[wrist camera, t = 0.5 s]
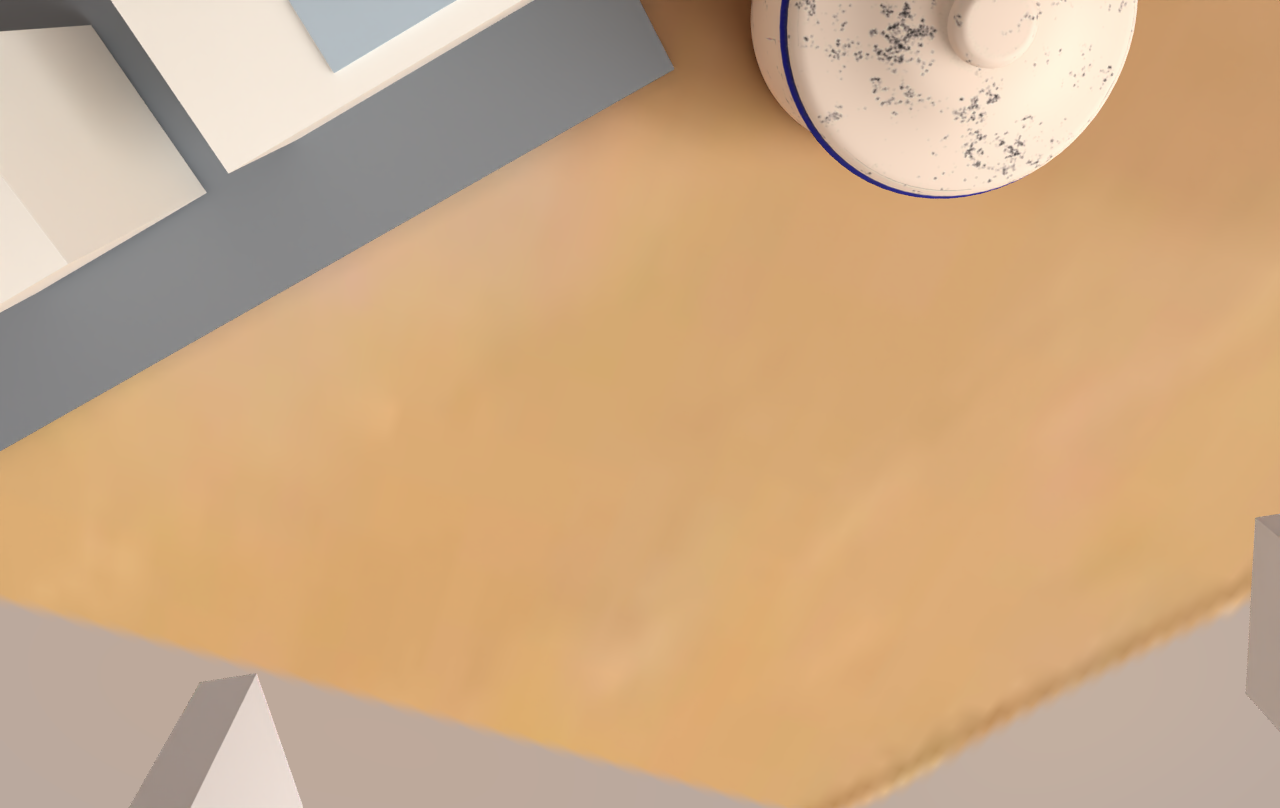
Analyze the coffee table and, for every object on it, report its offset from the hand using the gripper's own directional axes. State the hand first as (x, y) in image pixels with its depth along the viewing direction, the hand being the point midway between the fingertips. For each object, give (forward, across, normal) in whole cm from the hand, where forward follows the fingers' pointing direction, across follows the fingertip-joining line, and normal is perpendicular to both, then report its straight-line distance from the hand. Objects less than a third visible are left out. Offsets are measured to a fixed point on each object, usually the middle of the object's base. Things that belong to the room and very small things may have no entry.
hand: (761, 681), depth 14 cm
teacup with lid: (+26, +9, +7) cm, 28 cm away
